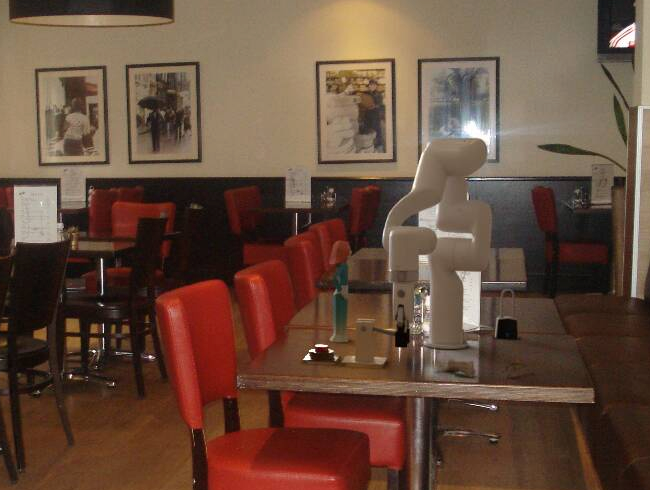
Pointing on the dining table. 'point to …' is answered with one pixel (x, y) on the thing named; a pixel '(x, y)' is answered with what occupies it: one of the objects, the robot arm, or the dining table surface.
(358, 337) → the bracket
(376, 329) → the lever
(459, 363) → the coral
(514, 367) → the fish
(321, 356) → the button box
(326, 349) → the button
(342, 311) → the sculpture
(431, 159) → the robot arm
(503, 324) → the padlock
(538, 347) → the dining table surface
